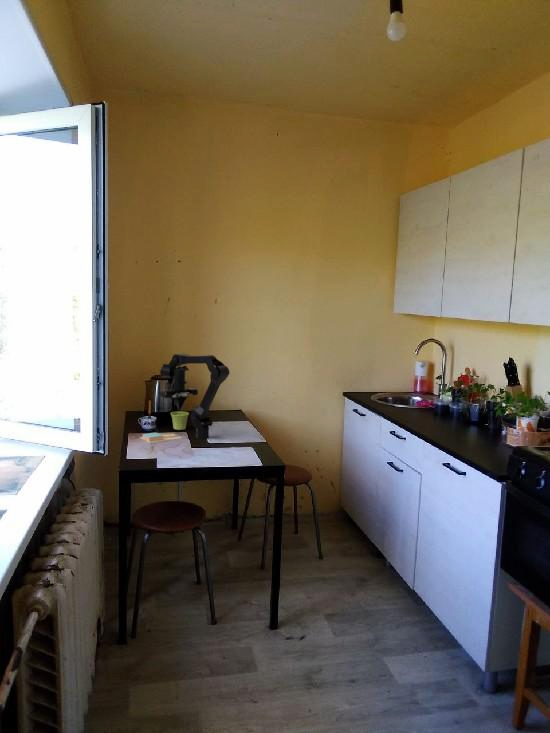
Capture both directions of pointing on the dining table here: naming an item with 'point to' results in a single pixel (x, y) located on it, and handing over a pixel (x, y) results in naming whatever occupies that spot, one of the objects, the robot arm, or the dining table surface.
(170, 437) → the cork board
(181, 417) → the plant pot
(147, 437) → the tile
